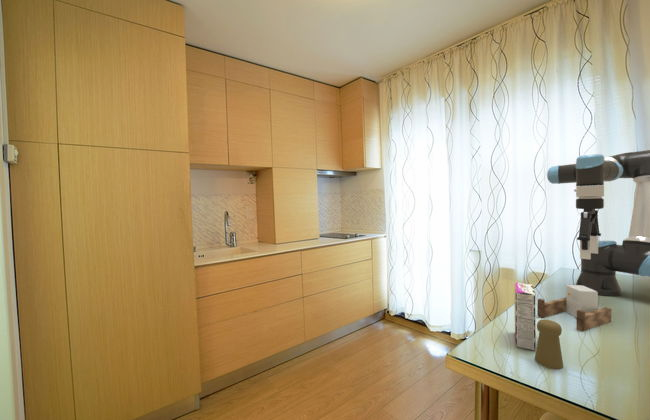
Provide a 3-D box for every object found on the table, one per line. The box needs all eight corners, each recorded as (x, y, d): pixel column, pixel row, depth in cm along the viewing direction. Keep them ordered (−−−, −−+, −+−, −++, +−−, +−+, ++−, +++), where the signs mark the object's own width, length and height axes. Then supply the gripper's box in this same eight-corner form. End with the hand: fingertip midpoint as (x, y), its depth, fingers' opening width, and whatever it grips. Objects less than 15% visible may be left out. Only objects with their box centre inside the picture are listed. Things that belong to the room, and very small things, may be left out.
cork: (529, 357, 80) (529, 317, 79) (549, 355, 80) (550, 316, 80) (547, 370, 74) (548, 326, 73) (569, 368, 74) (570, 325, 74)
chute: (566, 308, 114) (566, 292, 114) (611, 321, 102) (611, 303, 102) (537, 316, 107) (537, 299, 107) (582, 331, 94) (582, 311, 94)
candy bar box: (514, 332, 95) (514, 282, 94) (533, 336, 92) (533, 284, 92) (514, 347, 85) (515, 291, 85) (536, 351, 83) (536, 294, 82)
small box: (598, 321, 102) (598, 291, 101) (579, 320, 103) (579, 291, 103) (582, 313, 110) (583, 285, 109) (565, 312, 111) (566, 284, 110)
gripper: (583, 197, 117) (583, 249, 118) (567, 199, 102) (567, 259, 102) (609, 196, 111) (609, 252, 112) (596, 198, 96) (596, 263, 97)
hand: (589, 256), depth 107 cm, fingers open, 13 cm apart
